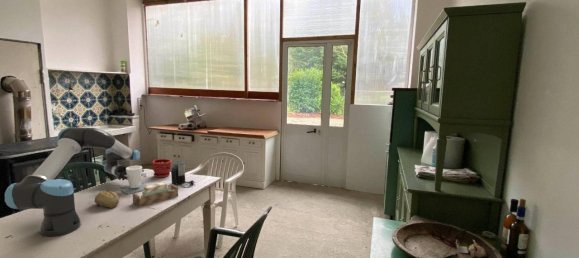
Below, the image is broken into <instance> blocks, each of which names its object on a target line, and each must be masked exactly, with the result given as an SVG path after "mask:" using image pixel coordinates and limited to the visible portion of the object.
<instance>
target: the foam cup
mask: <svg viewBox="0 0 579 258" xmlns="http://www.w3.org/2000/svg"><path fill="white" fill-rule="evenodd" d="M142 170H143V166H142V165H131V166H128V167H127V168H126V172H127V176H130V177H131V181H128V180H127V181H128V186H130V188H138V187H140V185H141V183H142V176H141V174H142Z"/></svg>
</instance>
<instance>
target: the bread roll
mask: <svg viewBox="0 0 579 258" xmlns="http://www.w3.org/2000/svg"><path fill="white" fill-rule="evenodd" d="M93 201H94V203H95V204H96V205H99V206H102V207H105V208H107V209H108V208H110V209H112V208H116V207H117V206H118V205H119V202H120V198H119V196H118V194H117V193H116V192H115V191H112V190H105V191H102V192H100V193H98V194H97V195H95V197H94V200H93Z"/></svg>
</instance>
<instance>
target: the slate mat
mask: <svg viewBox="0 0 579 258" xmlns="http://www.w3.org/2000/svg"><path fill="white" fill-rule="evenodd" d="M145 186H148V185H147V184H146V183H143V182H141V185H140V187H138V188H130V186H129V185H127V186H121V187H118V189H119V190H120V191H122V193H125V194H126V195H130V194H132V193H135V194H136V193H139V192H142V191H144V187H145Z"/></svg>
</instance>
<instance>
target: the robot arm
mask: <svg viewBox="0 0 579 258" xmlns="http://www.w3.org/2000/svg"><path fill="white" fill-rule="evenodd" d="M56 139H57V140H56V141H57V146H56V147H55V148H54V150H53V151H52V152H51V153H50V154H49V155H48V156H47V157H46V159H45V160H44V161H43V162H42V163H41V165H39V166H38V168H37V169H36V170H35V171H34V172H33V173H32V174H31V175H27V176H25V177H24V178H23V179H22V180H21V181H20V182H14V183H12V184H9V186H8V187H7V188H6V190H5V192H4V202H5V204H6V206H8V207H9V208H11V209H14V210H15V209H16V210H25V209H27V210H29V209H30V210H32V209H33V210H35V209H36V210H38V209H39V210H42V211H43V218H42V222H41V225H40V229H39V231H40V232H39V233H40V235H41V236H43V237H57V236H62V235H65V234H69V233H71V232H74V231H76V230H77V229H79V228H80V227H81V226H82V225H81V224H82V221H81V219H80V217H79V215H78V213H77V211H76V207H75V206H76V205H75V194H74V193H75V190H74V185H73V183H72V181H70V180H68V179H63V178H57V179H55V178H56V177H57V176H58V174H60V172H62V170H63V168H64V167H65V166H66V164H68V163H69V162H70V160H71V158H72V157H74V155H75V154H78V153H80V152H81V151H82V150H83V149H84V148H90V149H91V148H99V149H101V150H102V149H103V150H105V160H106V161H105V164H104V166H103V169H104V172H106V173H108V174H110V175H114V177H115V178H117V180H119V181H120V180H122V181H125V180H126V181H131V177H130V176H127V172H126V168H127V167H126V166H124V165H122V164H119V161H129V162H130V161H132V162H133V161H139V160H140V158H141V157H140V156H141V152H140V151H139V150H137V149H132V148H131V147H129V146H127V145H125V144H123V143H122V142H120V141H119V140H117V139H116V138H115V136H114V135H112V134H111V133H109V132H107V131H105V130H104V129H99V128H97V127H81V126H80V127H75V126H71V127H64V128H63V129H61V130H60V131H59V132H58V134H57V137H56ZM141 177H144V178H147V172H145V170H144V169H142V174H141Z"/></svg>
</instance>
